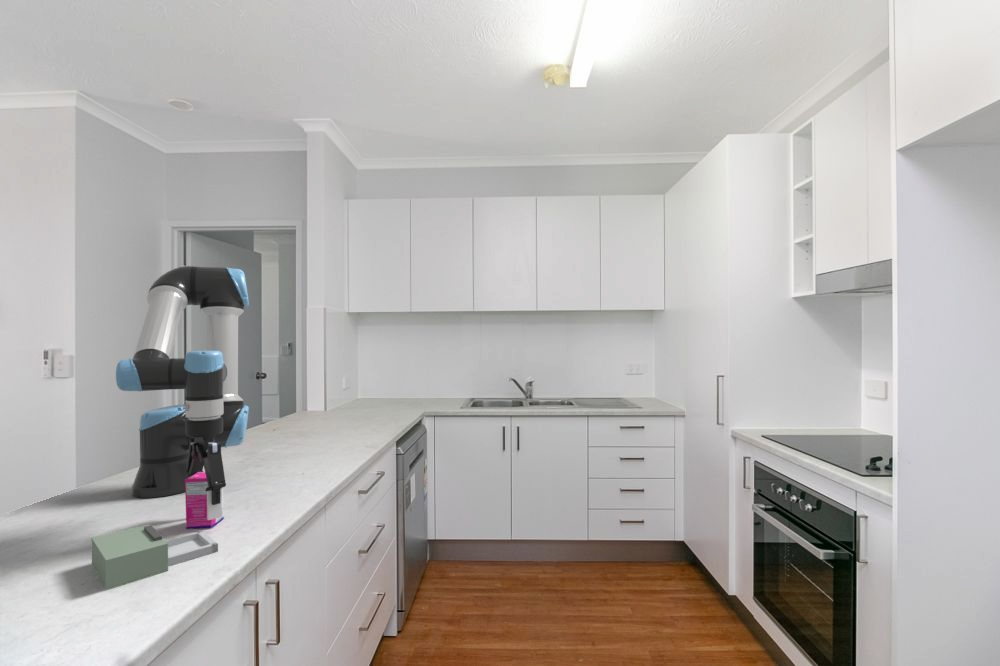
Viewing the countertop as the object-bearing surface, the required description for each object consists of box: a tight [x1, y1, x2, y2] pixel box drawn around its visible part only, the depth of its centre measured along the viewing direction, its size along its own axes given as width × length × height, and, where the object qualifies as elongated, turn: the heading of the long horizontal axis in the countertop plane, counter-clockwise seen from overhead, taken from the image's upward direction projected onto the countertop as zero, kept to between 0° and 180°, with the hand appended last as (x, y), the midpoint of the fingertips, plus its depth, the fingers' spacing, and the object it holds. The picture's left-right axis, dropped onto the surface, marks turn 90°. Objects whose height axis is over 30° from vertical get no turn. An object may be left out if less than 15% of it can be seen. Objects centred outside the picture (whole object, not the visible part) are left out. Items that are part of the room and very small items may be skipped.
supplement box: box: [184, 471, 225, 530], centre depth 112 cm, size 6×6×12 cm
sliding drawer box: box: [91, 523, 219, 590], centre depth 95 cm, size 14×18×6 cm
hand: (204, 511), depth 112 cm, fingers open, 12 cm apart
